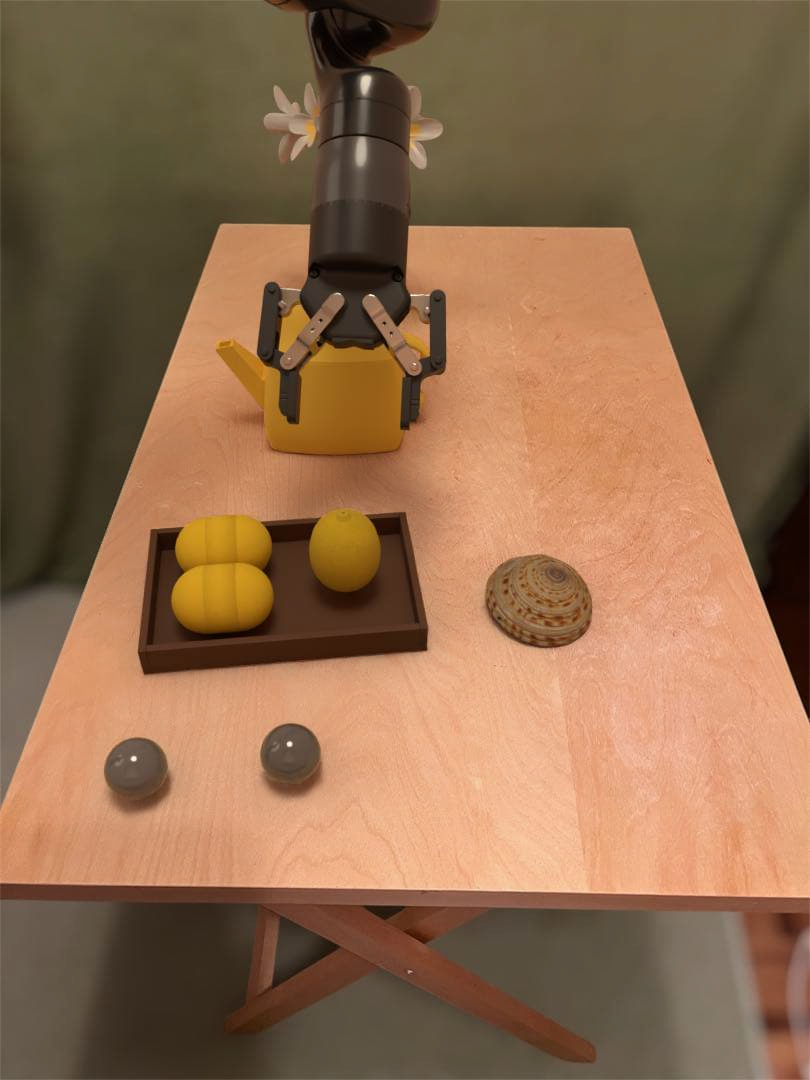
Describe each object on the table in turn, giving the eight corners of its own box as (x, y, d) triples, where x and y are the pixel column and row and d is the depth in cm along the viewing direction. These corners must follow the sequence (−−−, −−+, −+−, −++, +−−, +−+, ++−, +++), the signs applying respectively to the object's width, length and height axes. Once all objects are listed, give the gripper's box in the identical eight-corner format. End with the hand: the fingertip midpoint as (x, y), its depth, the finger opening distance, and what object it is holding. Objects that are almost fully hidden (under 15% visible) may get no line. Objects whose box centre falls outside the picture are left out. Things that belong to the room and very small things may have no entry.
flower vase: (297, 273, 113) (283, 53, 96) (443, 291, 111) (456, 68, 94) (265, 325, 104) (243, 92, 87) (423, 346, 102) (433, 110, 85)
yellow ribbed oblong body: (175, 651, 68) (164, 604, 65) (178, 600, 72) (168, 553, 69) (277, 642, 69) (271, 595, 66) (275, 593, 73) (270, 546, 69)
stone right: (263, 799, 60) (257, 765, 57) (262, 748, 63) (257, 713, 60) (323, 793, 61) (321, 759, 58) (320, 742, 63) (317, 708, 61)
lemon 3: (380, 563, 76) (381, 489, 70) (379, 613, 72) (379, 538, 66) (314, 562, 76) (309, 488, 70) (309, 612, 72) (303, 537, 66)
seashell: (540, 532, 76) (606, 557, 70) (548, 591, 79) (613, 621, 72) (460, 568, 73) (523, 598, 66) (472, 629, 75) (533, 664, 69)
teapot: (219, 458, 86) (203, 349, 78) (233, 384, 95) (220, 280, 87) (430, 458, 87) (436, 350, 79) (424, 385, 96) (429, 282, 88)
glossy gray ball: (107, 815, 59) (94, 781, 56) (113, 762, 62) (101, 727, 59) (170, 808, 60) (160, 775, 57) (173, 756, 62) (164, 722, 60)
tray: (143, 674, 67) (137, 651, 66) (155, 551, 77) (150, 528, 75) (427, 650, 70) (428, 628, 68) (404, 533, 79) (405, 511, 77)
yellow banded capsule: (178, 597, 72) (168, 550, 69) (181, 552, 76) (172, 505, 72) (275, 590, 73) (270, 543, 70) (273, 545, 77) (268, 499, 73)
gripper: (258, 190, 66) (246, 413, 66) (455, 199, 66) (444, 422, 65) (275, 229, 74) (264, 429, 73) (451, 237, 73) (441, 437, 73)
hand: (349, 425), depth 69 cm, fingers open, 8 cm apart
